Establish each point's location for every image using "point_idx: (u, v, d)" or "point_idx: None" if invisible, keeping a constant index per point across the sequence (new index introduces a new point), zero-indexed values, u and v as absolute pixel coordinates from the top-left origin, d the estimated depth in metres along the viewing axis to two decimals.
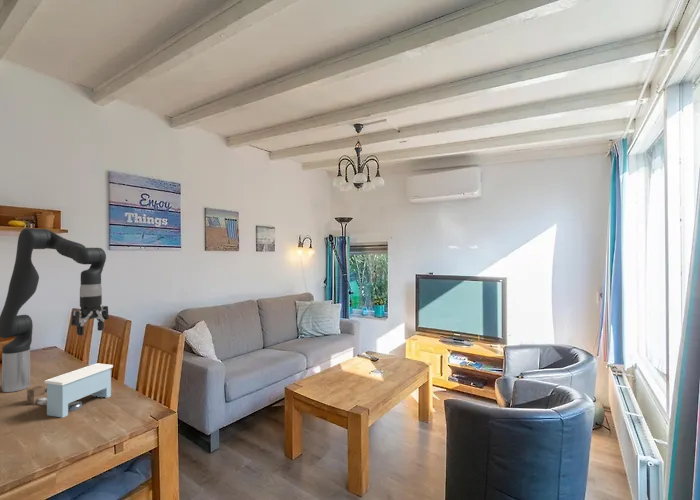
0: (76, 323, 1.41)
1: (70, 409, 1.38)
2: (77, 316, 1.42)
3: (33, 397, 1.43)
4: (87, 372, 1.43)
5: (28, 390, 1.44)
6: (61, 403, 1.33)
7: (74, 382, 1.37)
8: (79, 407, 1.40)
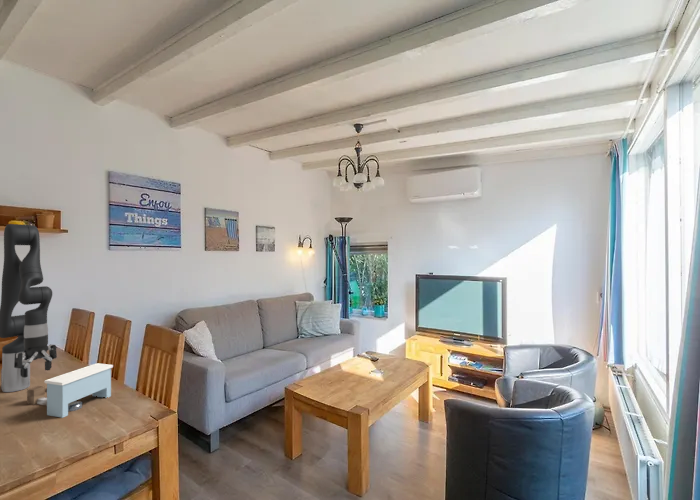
0: (19, 366, 1.39)
1: (70, 409, 1.38)
2: (20, 358, 1.39)
3: (33, 397, 1.43)
4: (87, 372, 1.43)
5: (28, 390, 1.44)
6: (61, 403, 1.33)
7: (74, 382, 1.37)
8: (79, 407, 1.40)
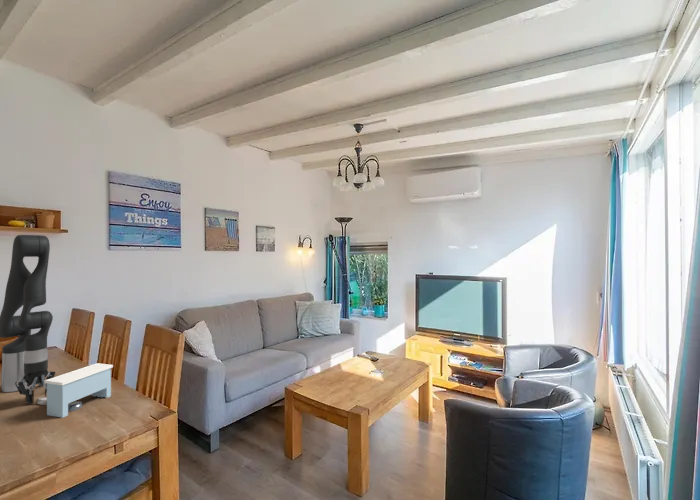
0: (24, 393, 1.41)
1: (70, 409, 1.38)
2: (22, 387, 1.40)
3: (33, 397, 1.43)
4: (87, 372, 1.43)
5: None
6: (61, 403, 1.33)
7: (74, 382, 1.37)
8: (79, 407, 1.40)
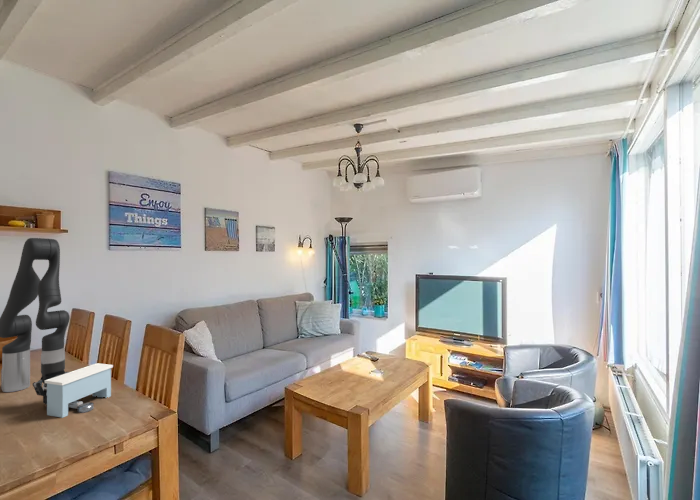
0: (41, 394, 1.38)
1: (82, 410, 1.37)
2: (39, 387, 1.37)
3: None
4: (87, 372, 1.43)
5: None
6: (61, 403, 1.33)
7: (74, 382, 1.37)
8: (91, 408, 1.39)
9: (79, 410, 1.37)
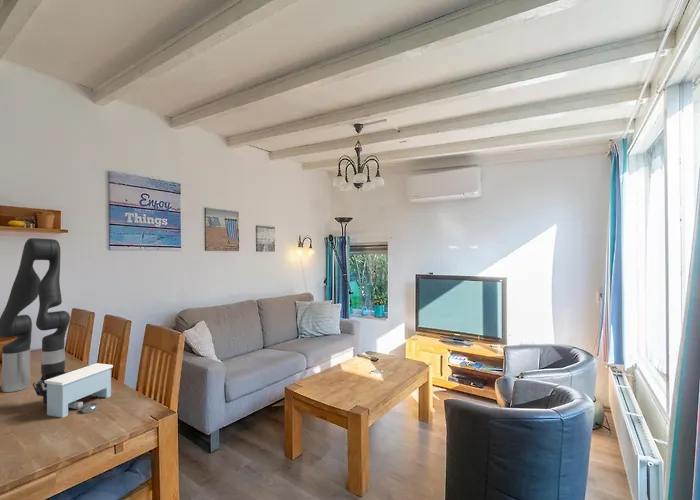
0: (41, 394, 1.38)
1: (86, 411, 1.36)
2: (39, 388, 1.38)
3: None
4: (87, 372, 1.43)
5: None
6: (61, 403, 1.33)
7: (74, 382, 1.37)
8: (95, 409, 1.38)
9: (83, 411, 1.36)
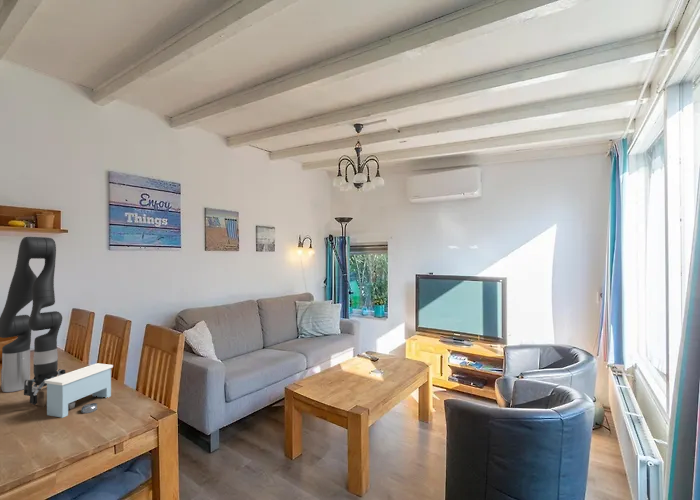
0: (28, 393, 1.37)
1: (86, 411, 1.36)
2: (29, 386, 1.38)
3: (43, 399, 1.42)
4: (87, 372, 1.43)
5: (38, 391, 1.43)
6: (61, 403, 1.33)
7: (74, 382, 1.37)
8: (95, 409, 1.38)
9: (83, 411, 1.36)
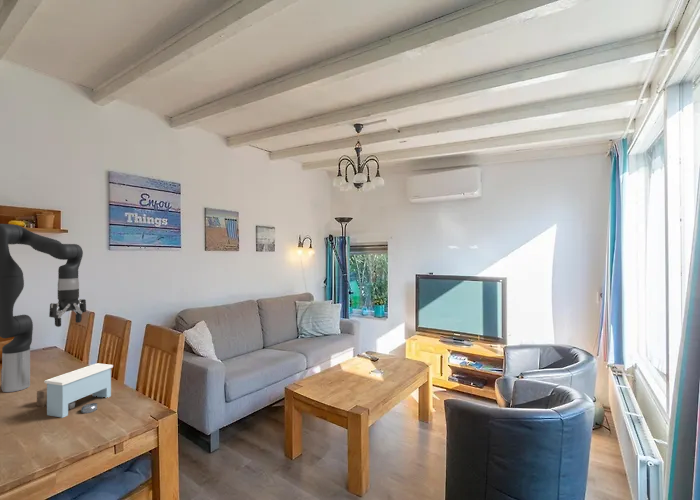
0: (54, 315, 1.50)
1: (86, 411, 1.36)
2: (54, 308, 1.50)
3: (43, 399, 1.42)
4: (87, 372, 1.43)
5: (38, 391, 1.43)
6: (61, 403, 1.33)
7: (74, 382, 1.37)
8: (95, 409, 1.38)
9: (83, 411, 1.36)
